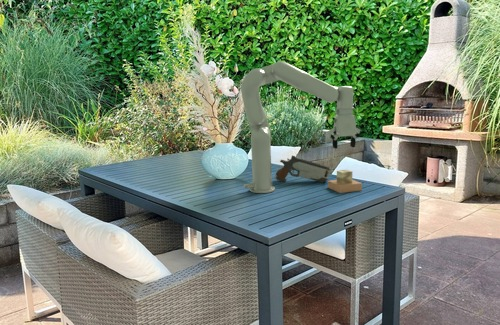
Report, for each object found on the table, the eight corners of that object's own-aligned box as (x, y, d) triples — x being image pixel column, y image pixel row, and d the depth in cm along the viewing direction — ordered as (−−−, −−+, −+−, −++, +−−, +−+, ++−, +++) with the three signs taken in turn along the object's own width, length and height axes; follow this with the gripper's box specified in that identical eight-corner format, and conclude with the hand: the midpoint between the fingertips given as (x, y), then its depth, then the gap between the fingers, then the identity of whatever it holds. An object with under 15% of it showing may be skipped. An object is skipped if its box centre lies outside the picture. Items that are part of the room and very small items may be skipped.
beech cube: (342, 183, 208) (342, 172, 207) (336, 181, 213) (336, 170, 212) (352, 182, 210) (352, 171, 209) (346, 180, 215) (346, 169, 214)
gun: (323, 194, 228) (331, 167, 224) (273, 179, 231) (281, 153, 228) (323, 191, 232) (331, 165, 229) (275, 177, 236) (282, 151, 233)
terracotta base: (339, 193, 205) (339, 185, 204) (328, 188, 216) (328, 180, 215) (361, 191, 208) (361, 183, 208) (348, 185, 220) (349, 178, 219)
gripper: (332, 113, 199) (331, 149, 202) (364, 112, 204) (363, 147, 207) (324, 112, 206) (324, 147, 209) (356, 111, 211) (355, 145, 214)
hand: (343, 147), depth 208 cm, fingers open, 9 cm apart
